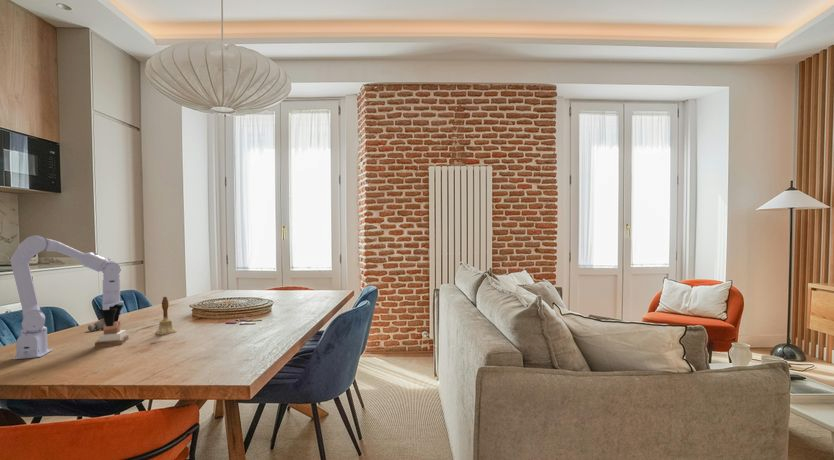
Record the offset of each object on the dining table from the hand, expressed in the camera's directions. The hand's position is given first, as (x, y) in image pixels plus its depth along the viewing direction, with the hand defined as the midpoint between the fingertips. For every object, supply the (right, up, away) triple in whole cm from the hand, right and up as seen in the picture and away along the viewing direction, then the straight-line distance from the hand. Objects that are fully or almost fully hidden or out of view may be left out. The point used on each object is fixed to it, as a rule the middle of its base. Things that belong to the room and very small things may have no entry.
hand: (112, 324), depth 170 cm
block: (0, -3, 0) cm, 3 cm away
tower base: (0, -8, 0) cm, 8 cm away
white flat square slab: (0, -6, 0) cm, 6 cm away
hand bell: (+12, -7, +16) cm, 22 cm away
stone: (-22, -8, +24) cm, 34 cm away
